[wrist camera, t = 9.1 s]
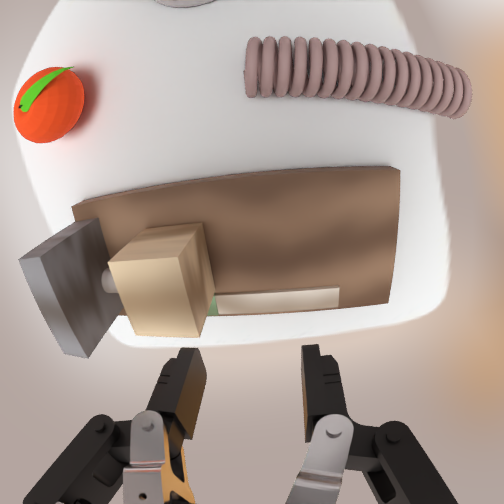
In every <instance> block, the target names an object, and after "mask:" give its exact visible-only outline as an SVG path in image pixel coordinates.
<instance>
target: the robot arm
mask: <svg viewBox="0 0 504 504" xmlns="http://www.w3.org/2000/svg"><path fill="white" fill-rule="evenodd" d="M155 1H156V2H158V3H160V4H163V5H166V6H171V7H191V6H197V5H201V4H205V3H208V2H211V1H213V0H155ZM301 348H302V349H301V372H302V373H301V375H302V392H303V407H304V425H305V426H304V427H305V443H306V442H310V445H309V448H308V451H307V454H306V457H305V459H304V462H303V465H302V468H301V470H300V472H299V474H298V476H297V477H296V480H295V482H294V484H293V487H292V489H291V492H290V494H289V496H288V499H287V501H286V503H285V504H336V501H337V498H338V495H339V492H340V488H341V484H342V477H343V473H344V469H348V470H356V471H362V473H363V475H364V477H365V479H366V481H367V483H368V484H369V486H370V488H371V490H372V492H373V494H374V496H375V498H376V500H377V502H378V504H458V503H457V501H456V499H455V498H454V496H453V495H452V493H451V492H450V490H449V488H448V487H447V486H446V484H445V482H444V481H443V479H442V477H441V476H440V474H439V473H438V471H437V470H436V468H435V466H434V465H433V463H432V462H431V460H430V459H429V458H428V456H427V454H426V453H425V451H424V450H423V448H422V447H421V445H420V444H419V442H418V441H417V439H416V438H415V436H414V435H413V433H412V432H411V430H410V429H409V427H408V426H407V425H405V424H404V423H402V422H399V421H389V422H386V423H384V424H383V425H381V426H380V427H373V426H364V425H360V424H358V423H356V422H354V421H353V420H352V419H351V418H350V417H349V415H348V413H347V408H346V403H345V397H344V392H343V387H342V383H341V377H340V372H339V367H338V363H337V362H336V360H335V359H334V358H333V357H332V355H325V356H320V350H319V345H318V344H314V345H303V346H302V347H301ZM206 379H207V374H206V369H205V366H204V363H203V360H202V357H201V354H200V351H199V349H198V348H181V349H180V351H179V354H178V356H177V358H171V359H170V360H169V361H168V362H167V363H166V364H165V365H164V366H163V369H162V371H161V374H160V377H159V378H158V381H157V384H156V386H155V389H154V391H153V393H152V396H151V398H150V401H149V403H148V406H147V408H146V410H145V411H143V412H140V413H138V414H137V415H136V416H135V417H134V418H133V420H128V421H116V422H114V421H113V420H112V419H111V418H110V417H109V416H107V415H103V414H101V415H97V416H94V417H93V418H92V419H90V421H89V422H88V423H87V424H86V426H84V428H83V429H82V430H81V431H80V432H79V433H78V435H77V436H76V437H75V438H74V439H73V440H72V442H71V443H70V444H69V445H68V446H67V448H66V449H65V450H64V451H63V452H62V453H61V455H60V456H59V457H58V458H57V459H56V461H55V462H54V463H53V464H52V465H51V467H50V468H49V469H48V470H47V471H46V473H45V474H44V475H43V476H42V478H41V479H40V480H39V481H38V482H37V483H36V485H35V486H34V487H33V488H32V490H31V491H30V492H29V493H28V494H27V496H26V497H25V498H24V500H23V504H108V503H109V502H110V501H111V499H112V498H113V496H114V495H115V494H116V492H117V491H118V490H119V488H120V487H121V485H122V484H123V498H124V504H195V499H194V496H193V493H192V491H191V488H190V486H189V483H188V477H187V470H186V463H185V456H184V449H183V446H182V444H183V440H184V439H190V440H192V438H193V433H194V429H195V425H196V421H197V417H198V413H199V409H200V405H201V401H202V397H203V392H204V389H205V385H206Z"/></svg>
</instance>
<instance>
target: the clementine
mask: <svg viewBox="0 0 504 504" xmlns="http://www.w3.org/2000/svg"><path fill="white" fill-rule="evenodd" d="M70 68H73V67H67V68H63V67H50V68H47V69H44V70H42V71H39V72H37V73H36V74H34V75H33V76H32V77H30V78H29V79H28V80H27V81H26V82H25V84H24V85H23V86H22V87H21V89H20V91H19V93H18V95H17V98H16V101H15V104H14V122H15V125H16V128H17V129H18V131H19V132H20V134H21V135H22V136H23V137H24V138H25V139H27V140H30V141H32V142H35V143H48V142H52V141H54V140H57V139H59V138H61V137H63V136H64V135H65V134H66V133H67V132H68V131H70V130H71V129H72V128H73V127H74V125H75V124H76V122H77V121H78V119H79V117H80V115H81V113H82V109H83V106H84V98H85V96H84V88H83V85H82V82H81V80H80V79H79V78H78V77H77V75H76V74H75V73H74V72H72V71H70V70H68V69H70Z"/></svg>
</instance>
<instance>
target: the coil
mask: <svg viewBox="0 0 504 504" xmlns="http://www.w3.org/2000/svg"><path fill="white" fill-rule="evenodd" d="M294 43H295V60H294V67H293V58H292V48H291V40H290V38H288V37H286V36H283V37H281V38H280V40H279V55H278V48H277V42H276V40H275V38H273V37H270V36H269V37H266V38H265V40H264V42H263V44H262V41H261V40H260V39H259V38H258V37H252V38H250V40H249V41H248V44H247V49H246V62H245V70H244V71H243V72H244V79H245V89H246V95H247V96H248V97H249V98H253V97H255V96H256V95H257V76H258V83H259V90H260V94H261V95H262V96H263V97H269V96H270V95H271V94H272V89H273V90H274V93H275V95H276V96H278V97H283V96H285V95H286V93H287V91H288V92H289V94H290V95H291V96H292V97H298V96H300V95H301V93H303V94H304V95H305V96H306V97H310V98H311V97H314V96H315V95H316V94H317V95H318V96H319V97H321V98H327V97H329V96H330V95H331V96H332V97H333V98H335V99H341V98H343V97H345V98H346V99H348V100H356V99H359V100H360V101H363V102H367V101H370V100H371V101H372V102H374V103H384V104H387V105H396V106H399V107H407V108H410V109H418V110H420V111H423V112H430V113H432V114H438V115H441V116H447V117H449V118H452V119H456V118H460V117H462V116H463V115H464V114H465V113H466V112H467V110H468V109H469V107H470V104H471V100H472V87H471V82H470V80H469V78H468V76H467V75H466V73H465V72H464V71H463V70H461V69H459V68H454V67H453V66H451V65H448V64H446V65H445V64H444V63H442V62H440V61H434V60H433V59H430V58H424V57H422V56H420V55H413V54H411V53H409V52H403V53H402V52H401V51H399V50H397V49H392V50H389V49H388V48H386V47H383V46H381V47H378V48H377V47H376V46H374V45H372V44H367V45H365V46H363V44H361V43H360V42H354V43H352V44H351V46H350V44H349V42H347V41H346V40H341V41H339V42H338V43H337V45H336V43H335V41H334V40H332V39H329V38H328V39H325V41H324V42H323V46H322V43H321V41H320V40H319V39H318V38H315V37H313V38H311V39H310V40H309V65H310V74H309V78H308V72H307V44H306V40H305V39H304V38H303V37H297V38H296V39H295V42H294ZM383 59H384V65H383V79H384V80H383V83H382V60H383ZM395 59H396V63H395ZM370 61H371V72H370ZM322 67H323V73H324V83H322V78H321V77H322ZM443 79H444V80H443ZM336 80H337V81H338V86H336ZM394 83H395V88H394ZM453 83H454V93H453ZM350 85H351V89H350ZM363 90H364V91H363ZM405 91H406V92H405ZM452 95H453V97H452ZM462 96H463V98H462ZM461 100H462V101H461Z"/></svg>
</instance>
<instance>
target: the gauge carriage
mask: <svg viewBox="0 0 504 504" xmlns="http://www.w3.org/2000/svg"><path fill="white" fill-rule="evenodd" d="M108 265H109V268H107V269H105V270H104V271H103V274H102V279H101V281H102V286H103V289H104V290H105V291H106V292H107V293H119V296H120V298H121V301H122V303H123V306H124V308H125V311H126V313H127V316H128V318H129V321H130V323H131V325H132V328H133V330H134V332H135V334H136V335H138V336H157V337H188V338H200V335H201V332H202V329H203V326H204V323H205V320H206V317H207V314H208V311H209V308H210V305H211V302H212V299H213V296H214V293H215V285H214V280H213V275H212V271H211V265H210V260H209V255H208V250H207V245H206V239H205V234H204V229H203V223H202V222H201V223H192V224H182V225H173V226H164V227H156V228H147V229H144V230H143V231H141V232H140V233H139V234H138V235H137V236H136V237H135V238H134V239H132V240H131V241H130V242H129V243H128V244H127V245H126V246H125V247H123V248H122V249H121V250H120V251H119V252H118V253H117V254H116V255H115V256H114V257H113V258H112V259H110V260H109V261H108Z"/></svg>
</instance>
